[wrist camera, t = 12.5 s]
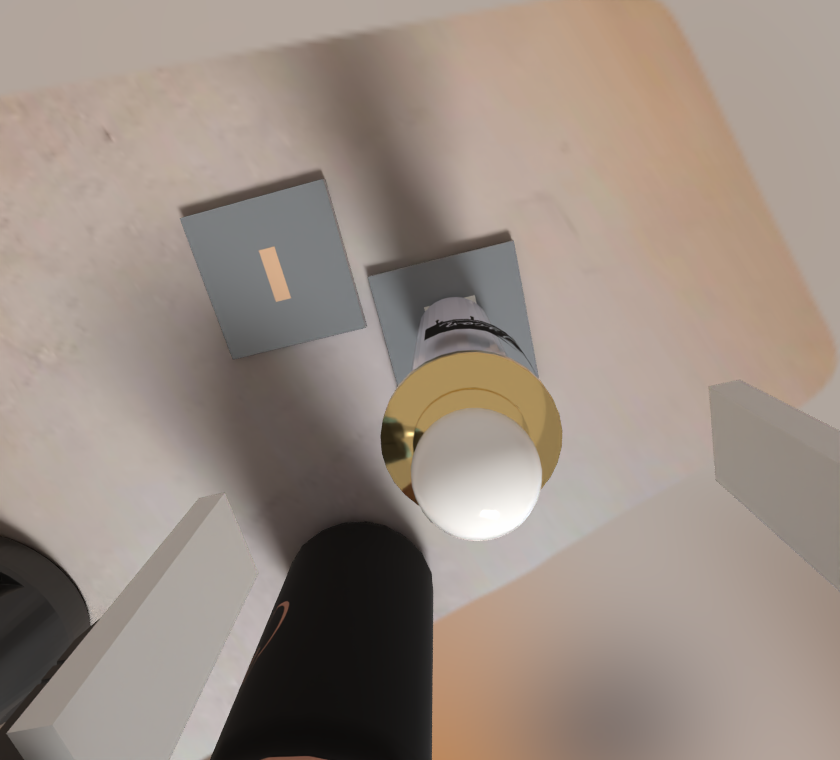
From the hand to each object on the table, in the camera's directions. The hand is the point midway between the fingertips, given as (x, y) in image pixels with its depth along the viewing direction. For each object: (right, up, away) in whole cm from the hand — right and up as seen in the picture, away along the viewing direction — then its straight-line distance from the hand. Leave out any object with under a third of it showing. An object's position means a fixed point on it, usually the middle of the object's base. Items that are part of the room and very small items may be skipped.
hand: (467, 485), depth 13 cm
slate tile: (-10, +9, +18) cm, 22 cm away
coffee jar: (-6, -12, +25) cm, 28 cm away
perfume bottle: (+1, +6, +18) cm, 19 cm away
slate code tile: (+1, +6, +18) cm, 19 cm away
